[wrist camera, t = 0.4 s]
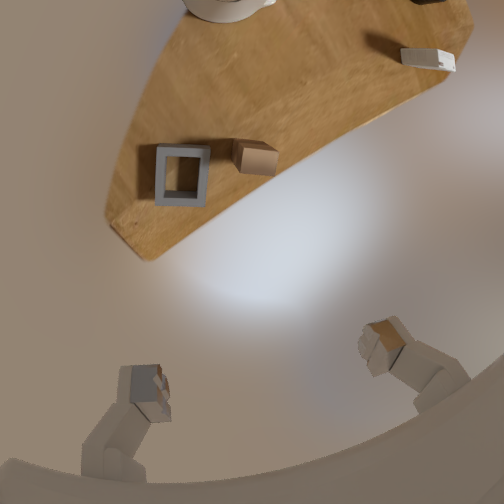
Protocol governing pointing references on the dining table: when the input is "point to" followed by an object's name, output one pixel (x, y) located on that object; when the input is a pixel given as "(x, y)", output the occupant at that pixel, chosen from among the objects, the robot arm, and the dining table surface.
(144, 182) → the dining table surface
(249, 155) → the walnut peg
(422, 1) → the supplement bottle
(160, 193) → the holder
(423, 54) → the skincare box
